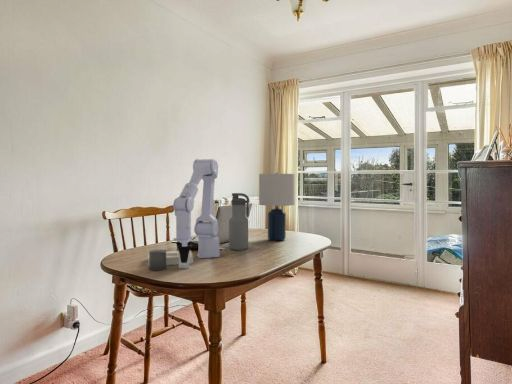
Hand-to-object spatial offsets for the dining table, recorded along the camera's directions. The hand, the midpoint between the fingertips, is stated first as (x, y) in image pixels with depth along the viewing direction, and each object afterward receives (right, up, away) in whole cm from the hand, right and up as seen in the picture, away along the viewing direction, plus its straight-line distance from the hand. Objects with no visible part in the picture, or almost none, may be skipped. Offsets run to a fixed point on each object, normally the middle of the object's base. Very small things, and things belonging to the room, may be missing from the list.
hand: (183, 261), depth 136 cm
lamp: (+41, 0, +61) cm, 73 cm away
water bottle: (+20, -1, +37) cm, 42 cm away
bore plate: (-8, -2, +9) cm, 12 cm away
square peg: (0, -2, 0) cm, 2 cm away
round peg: (-10, -3, -2) cm, 10 cm away
